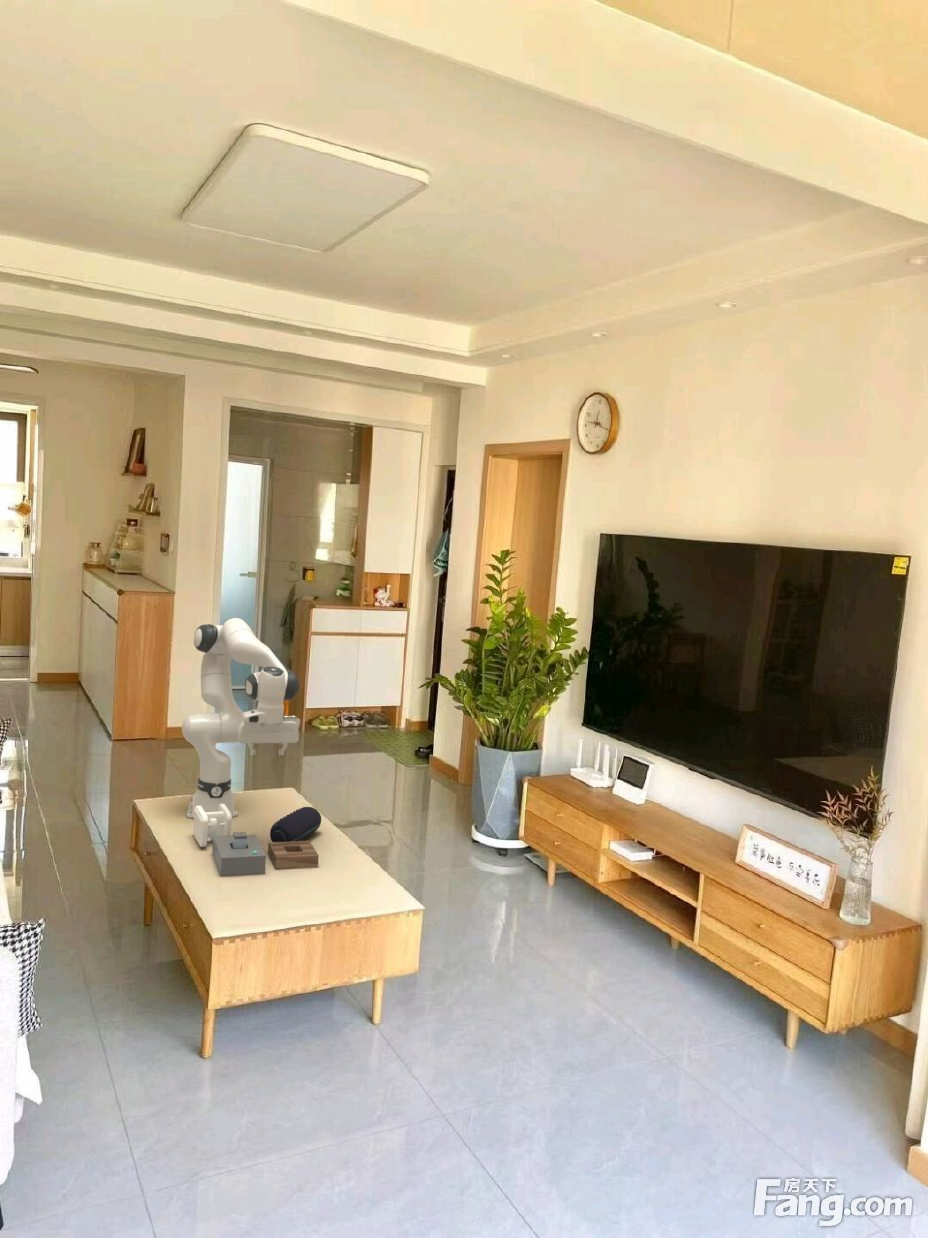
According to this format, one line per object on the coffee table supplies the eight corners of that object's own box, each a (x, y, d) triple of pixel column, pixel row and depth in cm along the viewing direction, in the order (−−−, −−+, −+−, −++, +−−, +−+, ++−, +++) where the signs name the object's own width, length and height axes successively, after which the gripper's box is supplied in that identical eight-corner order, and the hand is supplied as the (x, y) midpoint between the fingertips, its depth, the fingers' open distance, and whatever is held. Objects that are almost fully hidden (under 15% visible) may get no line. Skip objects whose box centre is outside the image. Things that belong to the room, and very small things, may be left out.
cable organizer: (231, 848, 328) (233, 815, 326) (199, 851, 323) (201, 817, 322) (221, 833, 341) (223, 801, 340) (191, 835, 336) (193, 803, 335)
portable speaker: (298, 828, 354) (300, 801, 353) (323, 833, 351) (325, 806, 350) (264, 848, 330) (266, 820, 329) (290, 854, 327) (292, 826, 326)
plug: (230, 861, 316) (232, 832, 315) (243, 861, 318) (245, 831, 316) (232, 866, 312) (234, 836, 311) (245, 865, 314) (247, 836, 313)
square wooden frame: (267, 854, 326) (268, 842, 325) (308, 851, 331) (309, 840, 330) (275, 869, 313) (276, 857, 312) (317, 867, 318) (318, 855, 318)
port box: (212, 853, 322) (213, 835, 321) (254, 851, 327) (255, 833, 326) (220, 876, 303) (221, 856, 302) (264, 873, 308) (266, 854, 308)
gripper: (298, 713, 330) (295, 752, 332) (238, 713, 323) (235, 753, 325) (302, 718, 325) (299, 757, 326) (241, 717, 317) (238, 758, 319)
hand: (267, 755), depth 325 cm, fingers open, 8 cm apart
